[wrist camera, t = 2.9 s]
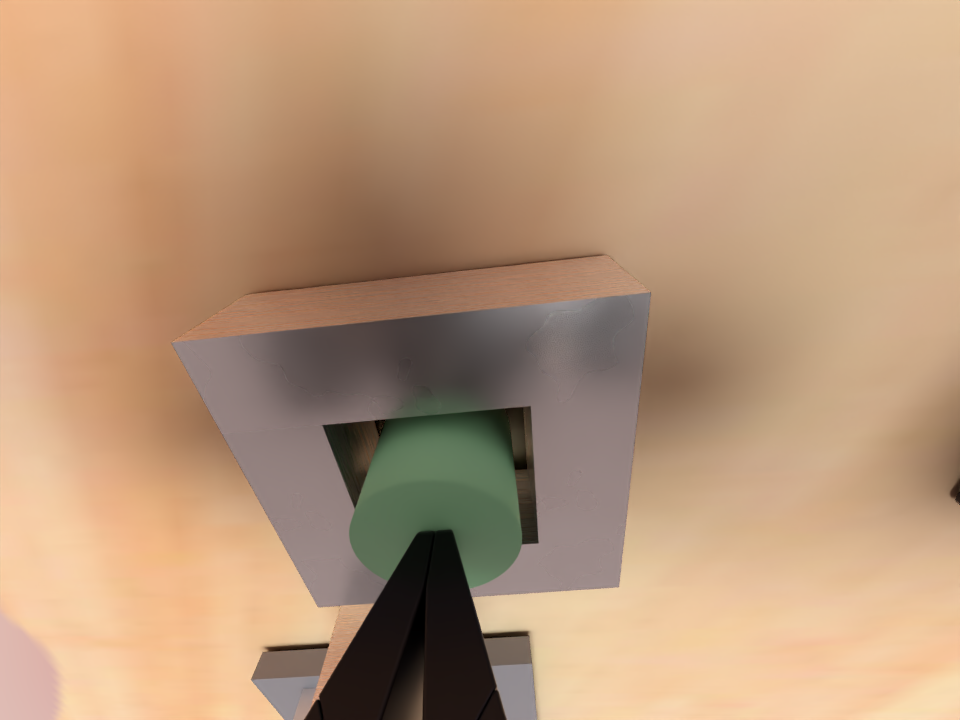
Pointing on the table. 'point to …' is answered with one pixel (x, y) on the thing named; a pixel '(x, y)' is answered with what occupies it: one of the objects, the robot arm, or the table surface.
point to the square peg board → (435, 405)
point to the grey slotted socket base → (298, 671)
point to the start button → (441, 492)
